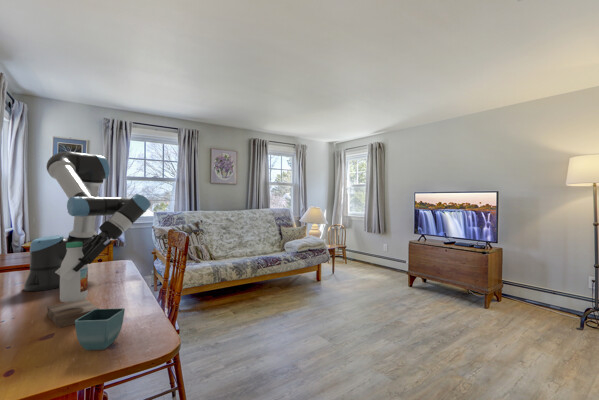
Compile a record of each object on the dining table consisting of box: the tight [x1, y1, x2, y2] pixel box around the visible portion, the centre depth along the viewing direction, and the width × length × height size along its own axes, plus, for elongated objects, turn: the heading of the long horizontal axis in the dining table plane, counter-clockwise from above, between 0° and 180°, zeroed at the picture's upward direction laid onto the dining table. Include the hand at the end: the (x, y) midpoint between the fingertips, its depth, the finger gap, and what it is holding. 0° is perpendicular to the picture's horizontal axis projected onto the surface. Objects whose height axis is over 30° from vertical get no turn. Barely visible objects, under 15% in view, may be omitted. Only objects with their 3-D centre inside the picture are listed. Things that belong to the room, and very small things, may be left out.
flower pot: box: [74, 307, 126, 351], centre depth 80 cm, size 9×9×9 cm
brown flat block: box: [46, 298, 100, 329], centre depth 100 cm, size 16×11×3 cm
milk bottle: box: [59, 242, 89, 303], centre depth 100 cm, size 8×8×20 cm
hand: (61, 276), depth 97 cm, fingers closed on milk bottle, 7 cm apart
